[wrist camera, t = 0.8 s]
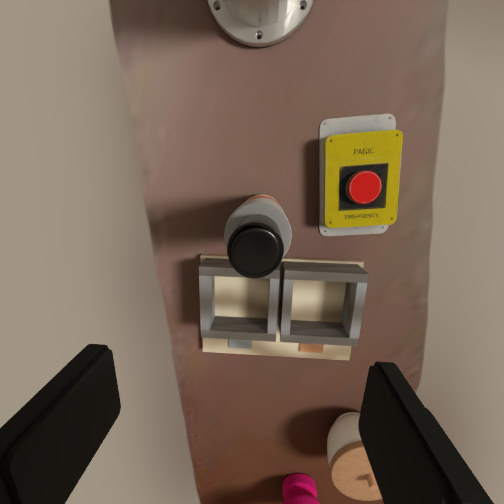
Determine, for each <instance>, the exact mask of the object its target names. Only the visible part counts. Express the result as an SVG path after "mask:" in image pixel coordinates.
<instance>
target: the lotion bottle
mask: <svg viewBox="0 0 504 504" xmlns="http://www.w3.org/2000/svg"><path fill="white" fill-rule="evenodd" d="M291 238H292V232H291V227H290V223H289V221H288V219H287V217H286V215H285V213H284V212H283V210H282V208H281V206H280V205H279V203H278V202H277V201H276V200H275V199H274V198H273V197H271V196H269V195H265V194H258V195H254V196H252V197H250V198H249V199H247V200H246V201H245V202H244V203H243V204H242V205H240V206H239V207H238V208H237V209H236V210H235V211H234V212H233V213H232V214H231V216H230V217H229V219H228V221H227V223H226V226H225V231H224V239H225V244H226V247H227V254H228V258H229V261H230V263H231V265H232V267H233V268H234V269H235V270H236V271H237V272H238V273H239V274H241V275H242V276H245V277H248V278H262V277H265V276H267V275H269V274H271V273H272V272H273V271H274V270H275V269H276V268H277V267H278V266H279V264H280V263H281V261H282V258H283V257H284V256H285V254H286V253H287V251H288V249H289V247H290V244H291Z"/></svg>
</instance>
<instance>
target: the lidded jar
mask: <svg viewBox="0 0 504 504" xmlns="http://www.w3.org/2000/svg"><path fill="white" fill-rule="evenodd" d="M359 417H360V413H357V412H348V413H344V414H342V415H340V416H339V417H338V418H337V419H336V420H335V423H334V424H333V425H332V427H331V429H330V431H329V434H328V439H327V454H328V461H329V466H330V474H331V479H332V482H333V483H334V485H335V487H336V488H337V489H338V490H339V491H340V492H341V493H343V494H344V495H346V496H348V497H350V498H354V499H357V500H365V501H371V500H379V499H382V496H381V494H380V491H379V488H378V485H377V482H376V479H375V477H374V474H373V471H372V468H371V465H370V463H369V460H368V457H367V454H366V451H365V448H364V446H363V443H362V440H361V437H360V434H359V429H358V422H359Z"/></svg>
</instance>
